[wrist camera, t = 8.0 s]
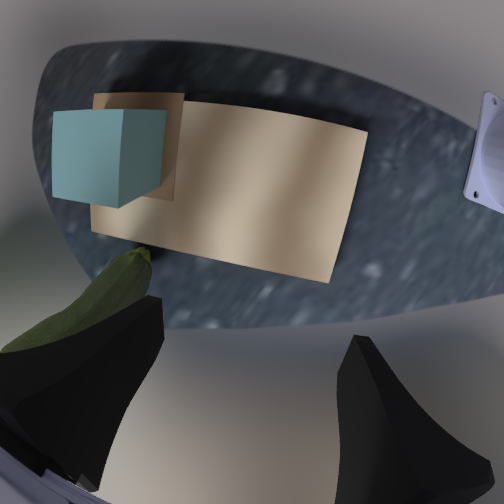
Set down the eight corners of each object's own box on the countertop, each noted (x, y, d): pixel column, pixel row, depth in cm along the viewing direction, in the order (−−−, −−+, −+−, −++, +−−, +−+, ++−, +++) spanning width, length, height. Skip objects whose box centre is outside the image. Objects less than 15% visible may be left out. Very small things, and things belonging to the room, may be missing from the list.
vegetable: (173, 285, 23) (23, 515, 5) (130, 290, 24) (-17, 477, 6) (154, 233, 21) (-54, 452, 3) (111, 242, 22) (-76, 418, 4)
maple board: (365, 124, 16) (369, 124, 15) (327, 274, 21) (328, 284, 19) (104, 94, 17) (94, 93, 16) (100, 225, 22) (91, 231, 21)
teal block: (167, 110, 16) (123, 109, 12) (159, 186, 18) (118, 208, 14) (103, 109, 17) (53, 111, 12) (99, 178, 19) (52, 196, 14)
